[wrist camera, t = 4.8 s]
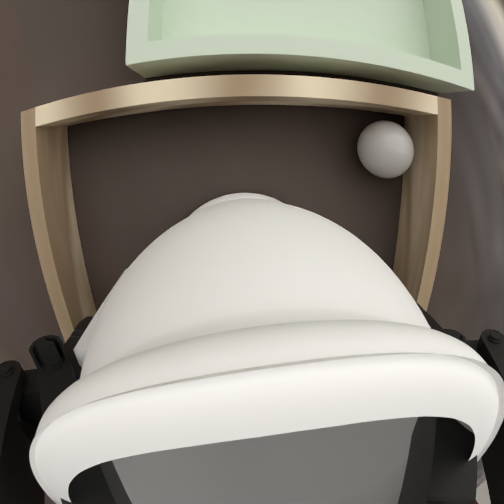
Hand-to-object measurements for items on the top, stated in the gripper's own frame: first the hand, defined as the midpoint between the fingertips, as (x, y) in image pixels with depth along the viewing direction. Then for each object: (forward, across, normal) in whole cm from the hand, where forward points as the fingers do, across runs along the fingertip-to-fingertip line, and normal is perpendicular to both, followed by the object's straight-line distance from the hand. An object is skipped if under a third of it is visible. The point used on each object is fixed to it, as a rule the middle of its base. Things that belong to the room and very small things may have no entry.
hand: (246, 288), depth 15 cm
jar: (+4, 0, 0) cm, 4 cm away
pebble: (+3, +8, +7) cm, 11 cm away
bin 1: (+3, +4, +20) cm, 21 cm away
